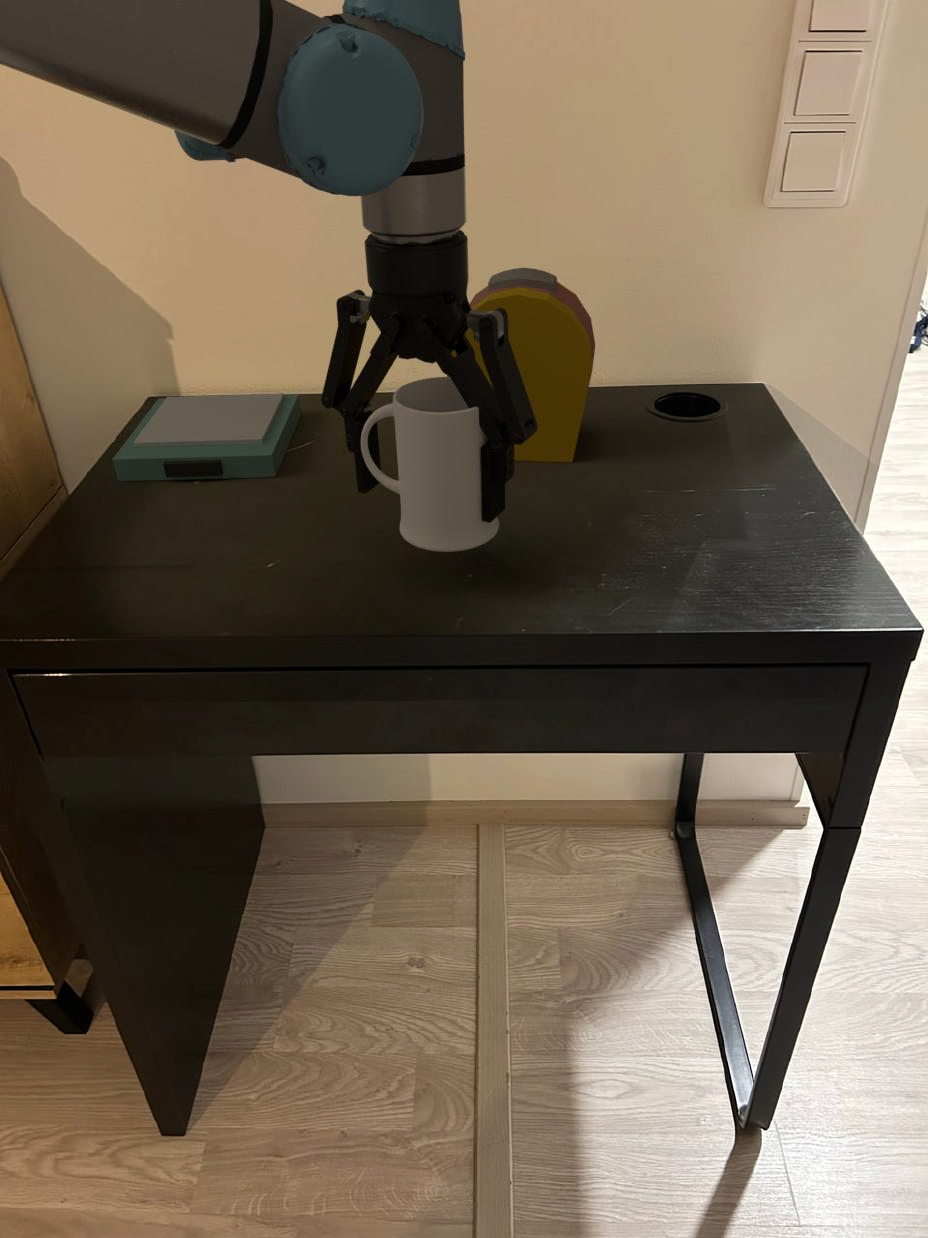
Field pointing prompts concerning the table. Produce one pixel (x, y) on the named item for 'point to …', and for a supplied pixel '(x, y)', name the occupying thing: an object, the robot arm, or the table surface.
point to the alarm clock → (544, 355)
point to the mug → (435, 466)
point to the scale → (210, 438)
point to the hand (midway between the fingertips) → (430, 500)
